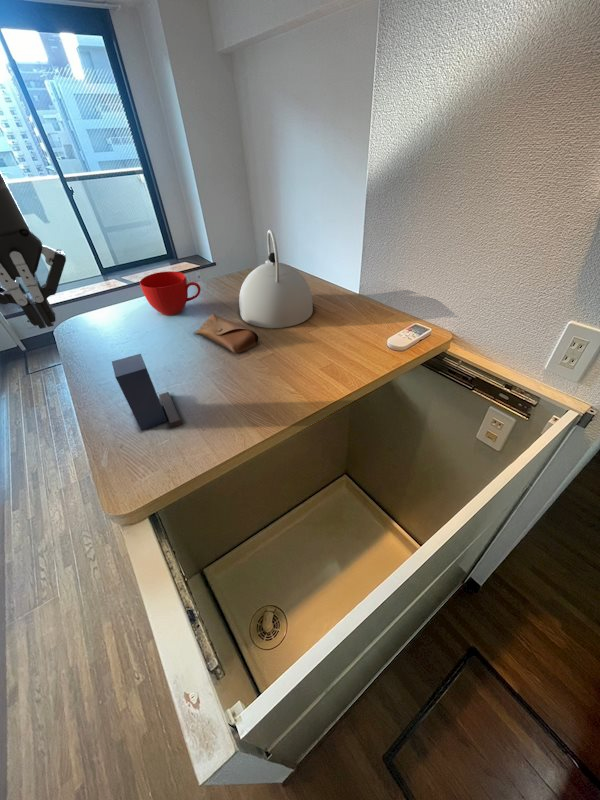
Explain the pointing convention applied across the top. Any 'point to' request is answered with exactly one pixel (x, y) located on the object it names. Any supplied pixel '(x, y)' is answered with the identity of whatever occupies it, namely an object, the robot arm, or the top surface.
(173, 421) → the stop strip
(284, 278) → the kettle
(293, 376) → the top surface
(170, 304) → the ceramic cup
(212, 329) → the sunglasses case
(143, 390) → the navy box
